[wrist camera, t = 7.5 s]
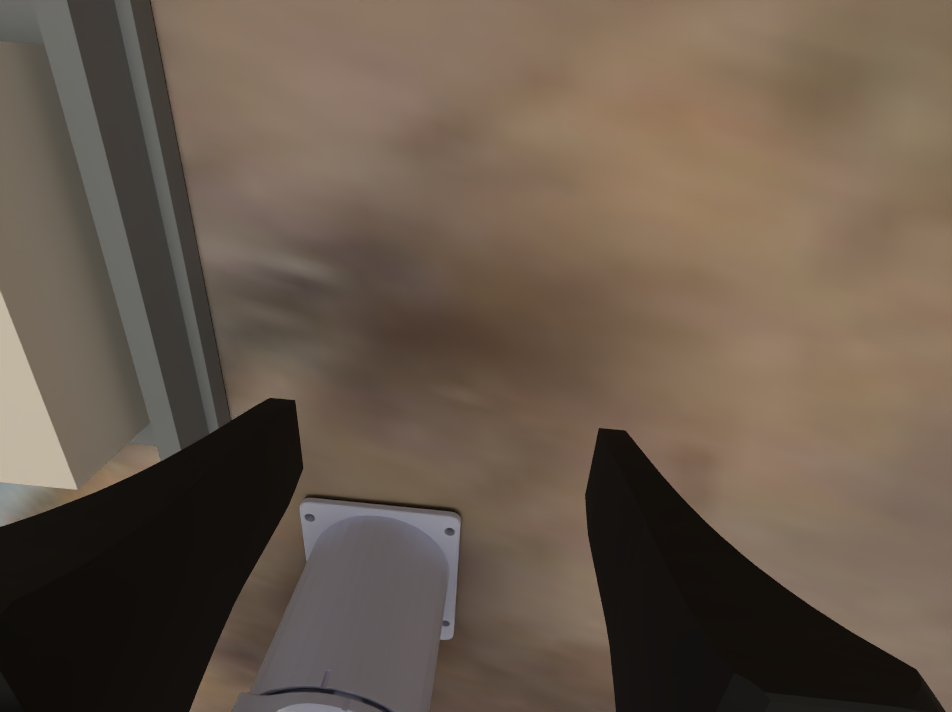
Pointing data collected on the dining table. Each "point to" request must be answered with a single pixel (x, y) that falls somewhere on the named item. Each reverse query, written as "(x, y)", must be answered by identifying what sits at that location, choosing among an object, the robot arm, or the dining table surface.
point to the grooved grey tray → (134, 201)
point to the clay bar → (54, 297)
